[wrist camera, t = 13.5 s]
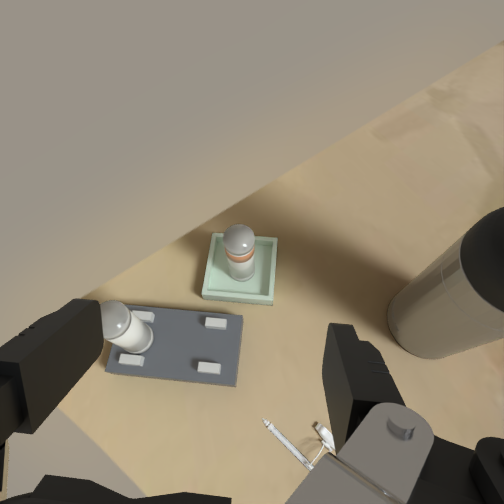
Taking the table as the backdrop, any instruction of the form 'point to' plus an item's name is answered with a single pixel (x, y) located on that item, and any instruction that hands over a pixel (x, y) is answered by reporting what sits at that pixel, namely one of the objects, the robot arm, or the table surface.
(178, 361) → the fuse holder
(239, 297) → the tray
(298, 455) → the picture light
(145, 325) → the plain fuse
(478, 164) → the table surface
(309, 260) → the table surface
